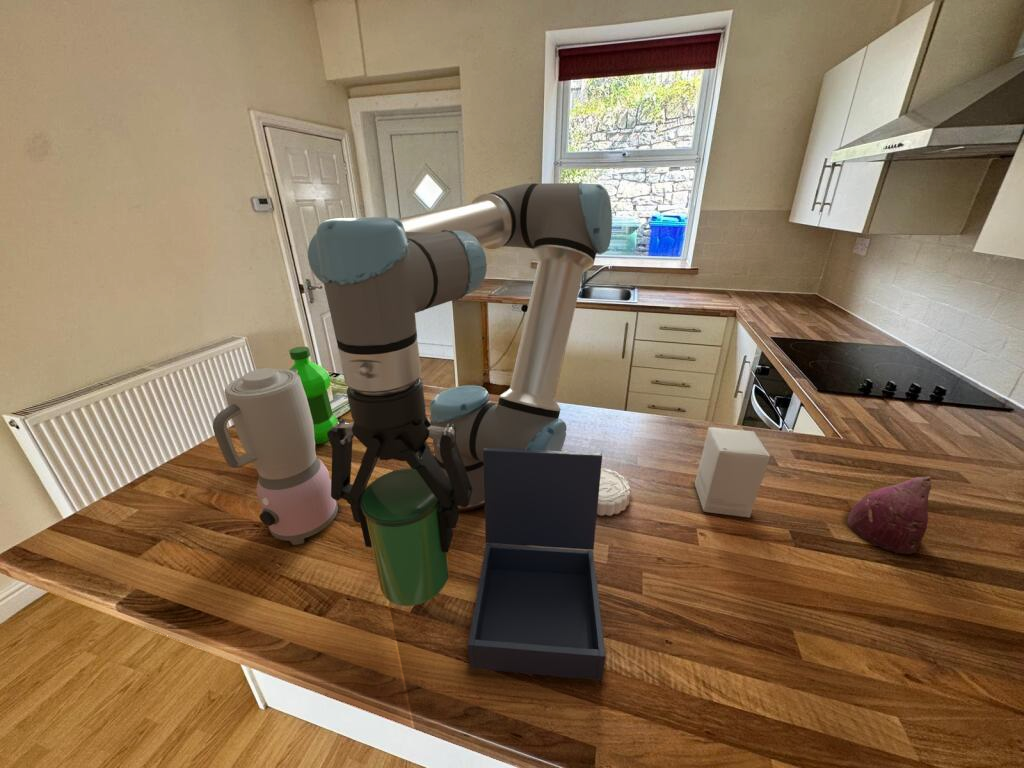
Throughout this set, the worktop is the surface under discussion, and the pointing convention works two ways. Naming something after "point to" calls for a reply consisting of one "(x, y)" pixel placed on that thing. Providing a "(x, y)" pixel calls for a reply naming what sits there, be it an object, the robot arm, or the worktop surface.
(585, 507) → the chest lid
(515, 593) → the chest
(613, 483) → the mooncake
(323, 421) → the plastic bottle
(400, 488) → the green pot
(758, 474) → the rectangular carton
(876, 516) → the vegetable
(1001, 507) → the worktop surface
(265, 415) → the blender
